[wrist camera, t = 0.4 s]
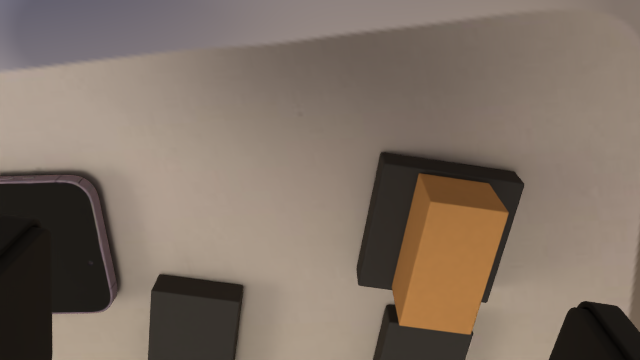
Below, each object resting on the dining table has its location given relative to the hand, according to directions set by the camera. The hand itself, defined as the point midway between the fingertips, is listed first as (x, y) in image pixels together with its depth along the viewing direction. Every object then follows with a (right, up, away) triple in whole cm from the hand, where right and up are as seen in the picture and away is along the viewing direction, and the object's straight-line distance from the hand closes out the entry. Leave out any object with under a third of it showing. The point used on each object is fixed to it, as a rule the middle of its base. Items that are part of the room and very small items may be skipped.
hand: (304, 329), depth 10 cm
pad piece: (+6, +1, +18) cm, 19 cm away
